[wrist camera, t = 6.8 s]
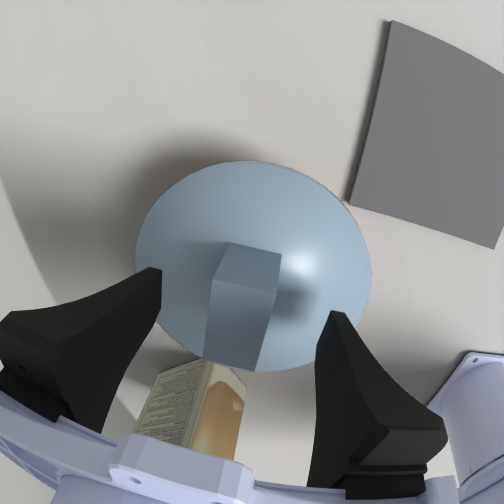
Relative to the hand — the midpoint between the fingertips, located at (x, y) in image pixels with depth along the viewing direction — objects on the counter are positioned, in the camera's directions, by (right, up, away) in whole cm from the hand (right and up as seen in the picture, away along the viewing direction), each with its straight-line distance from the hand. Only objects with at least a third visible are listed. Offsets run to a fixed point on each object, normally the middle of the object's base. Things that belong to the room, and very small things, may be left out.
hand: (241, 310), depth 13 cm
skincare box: (-3, -7, +11) cm, 13 cm away
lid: (0, +1, +2) cm, 2 cm away
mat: (+11, +8, 0) cm, 14 cm away
